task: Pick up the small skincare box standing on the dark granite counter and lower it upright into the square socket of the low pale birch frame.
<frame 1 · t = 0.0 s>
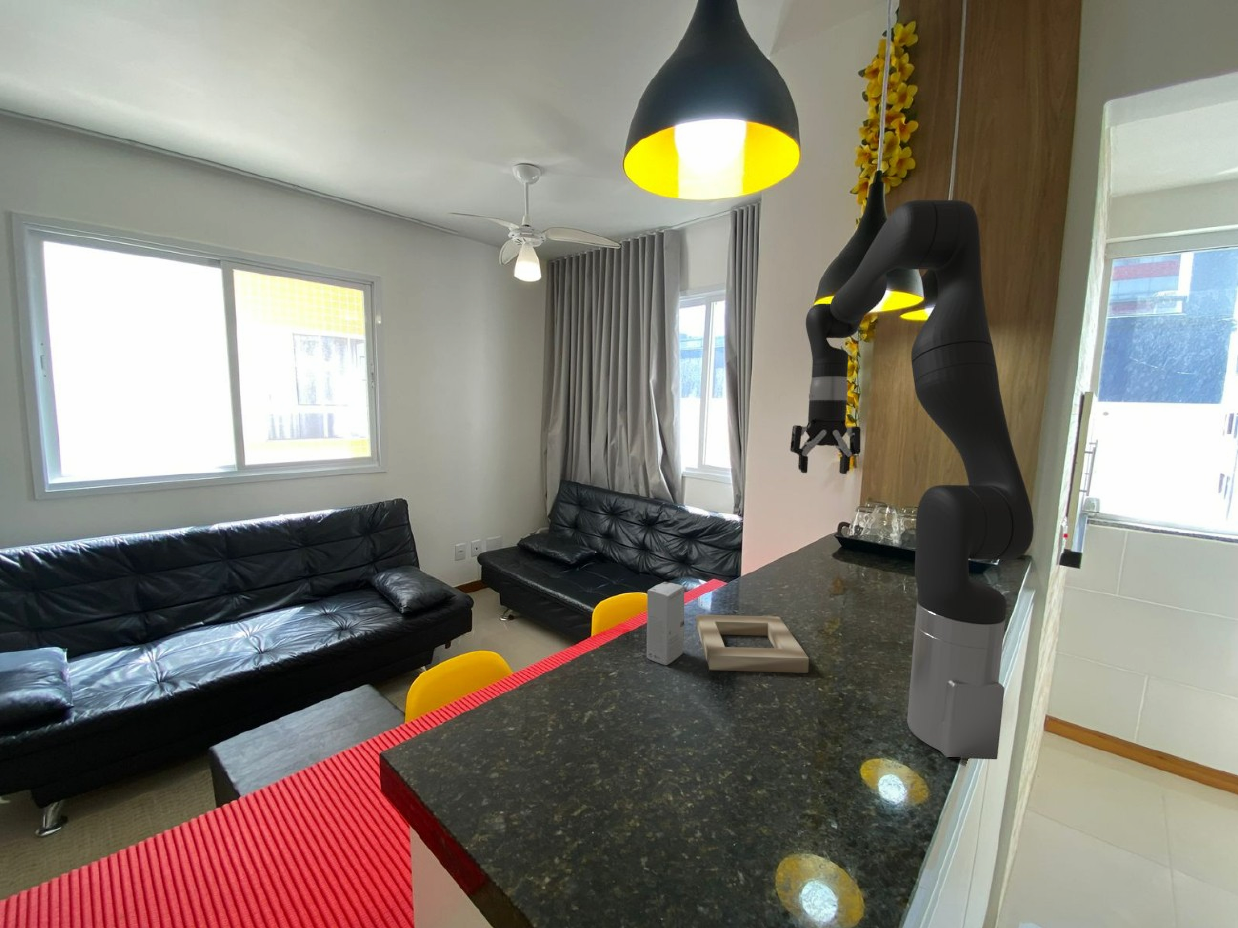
hand: (823, 473, 104), 29 cm above the kitchen counter, tool pointing down, fingers open, 8 cm apart
socket block: (746, 647, 86), on the kitchen counter
skincare box: (664, 656, 83), on the kitchen counter
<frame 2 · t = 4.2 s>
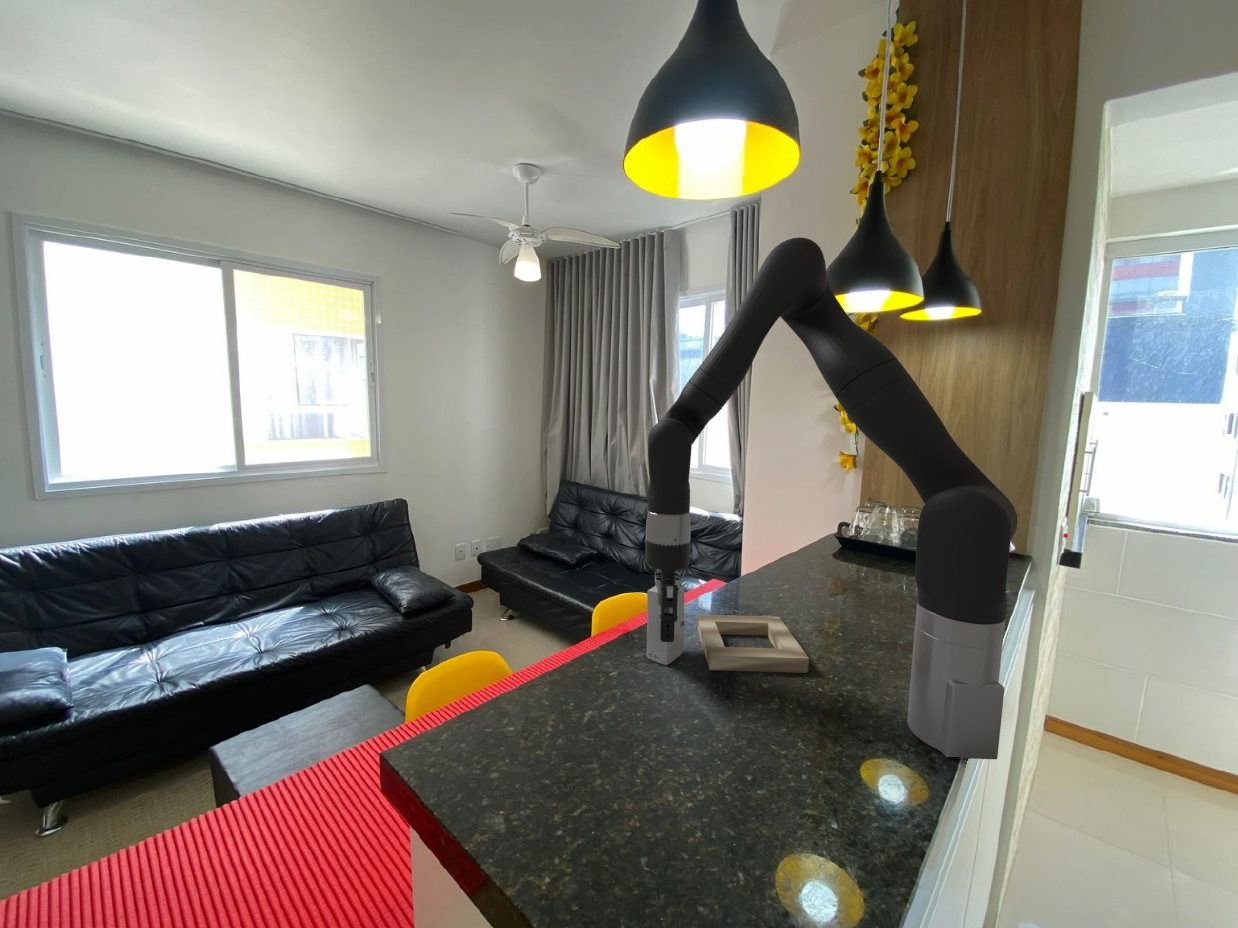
hand: (665, 630, 82), 4 cm above the kitchen counter, tool pointing down, fingers closed on skincare box, 7 cm apart
skincare box: (664, 656, 83), on the kitchen counter, touching gripper
when the fingers open (6 cm above the kitchen counter, at t = 10.1 s): skincare box drops 2 cm, resting in socket block.
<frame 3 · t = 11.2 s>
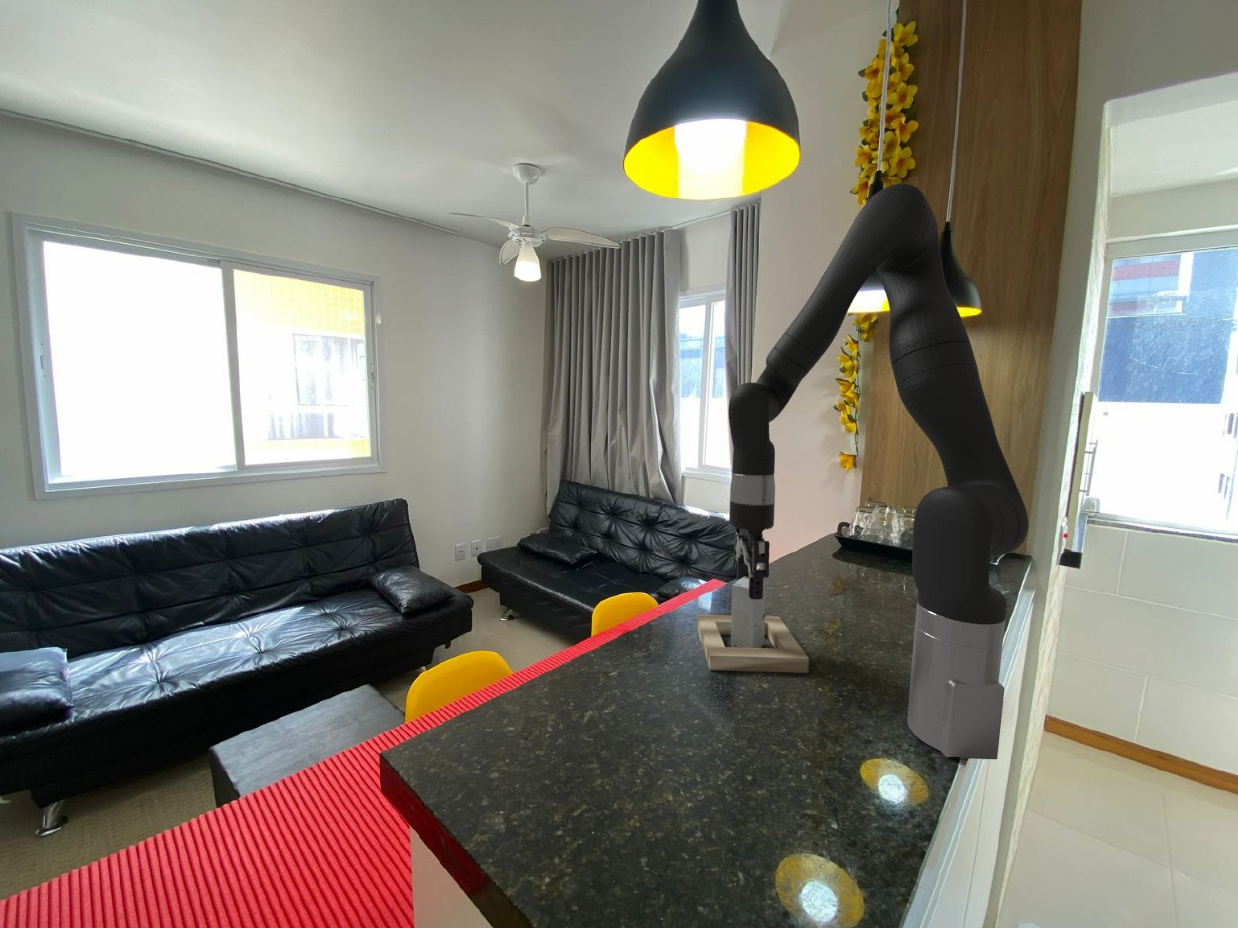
hand: (748, 589, 84), 11 cm above the kitchen counter, tool pointing down, fingers open, 8 cm apart
skincare box: (747, 647, 86), resting in socket block, touching gripper
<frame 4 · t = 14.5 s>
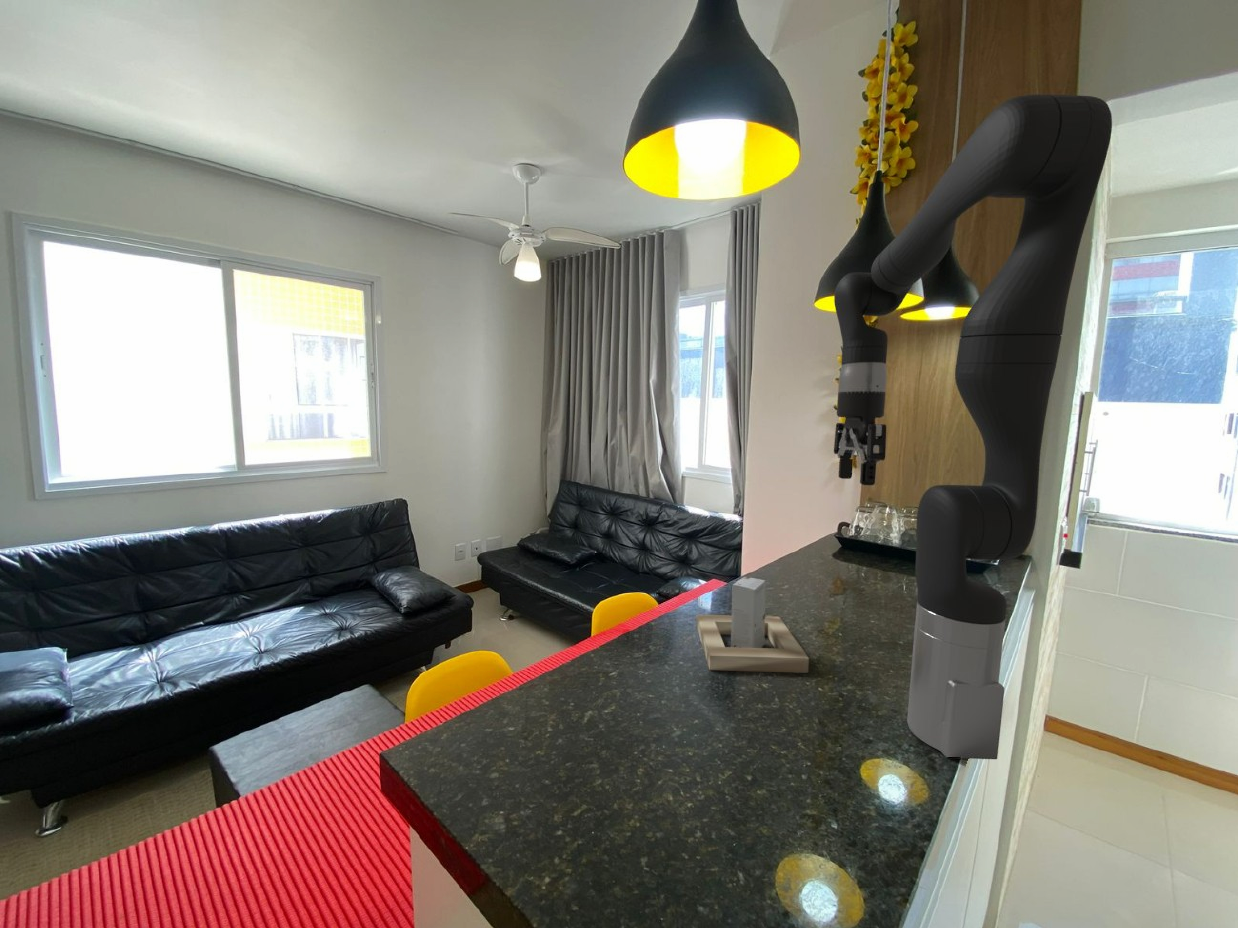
hand: (855, 481, 86), 30 cm above the kitchen counter, tool pointing down, fingers open, 8 cm apart
skincare box: (747, 648, 86), resting in socket block
at the end: skincare box 0.2 cm off-centre on the socket block, point 0.0 cm above the socket block's base; skincare box tilted 0°; the gripper is holding nothing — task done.
